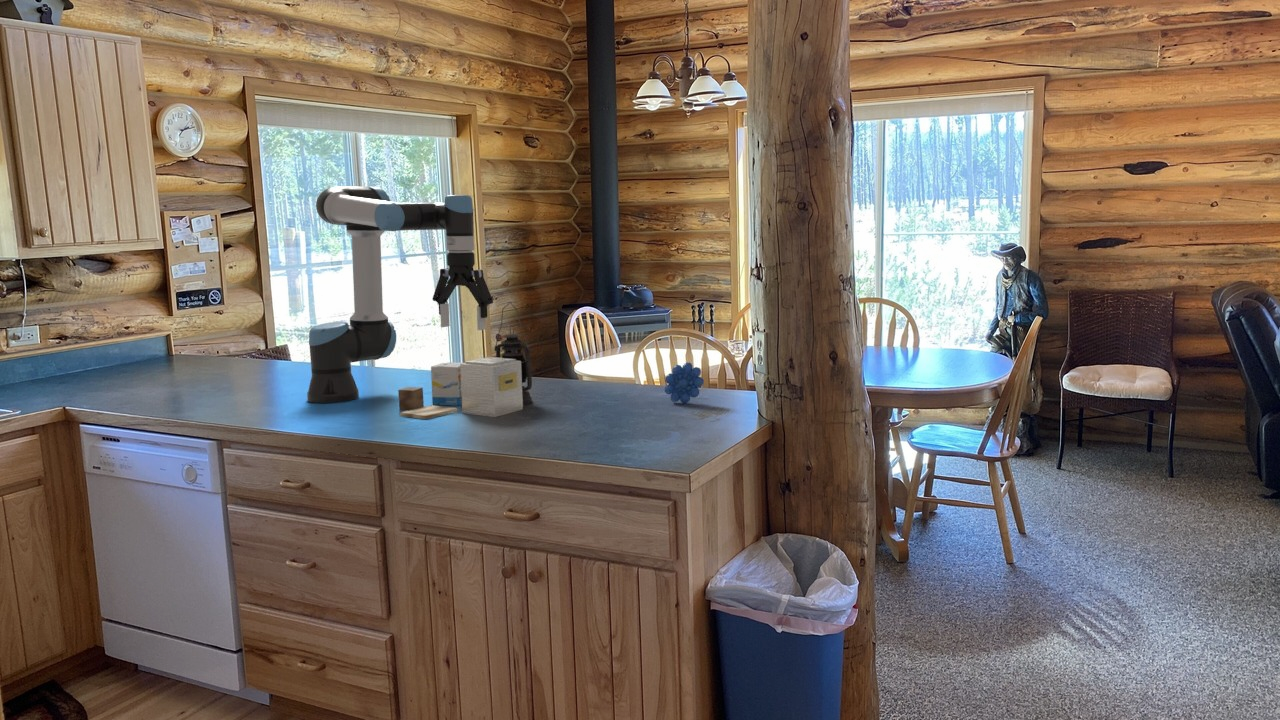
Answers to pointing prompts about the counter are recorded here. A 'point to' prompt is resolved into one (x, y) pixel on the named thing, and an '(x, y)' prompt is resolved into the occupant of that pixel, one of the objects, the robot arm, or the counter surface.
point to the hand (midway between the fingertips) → (463, 328)
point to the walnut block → (410, 398)
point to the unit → (491, 386)
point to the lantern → (517, 357)
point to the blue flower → (683, 383)
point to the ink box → (446, 384)
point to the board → (428, 412)
